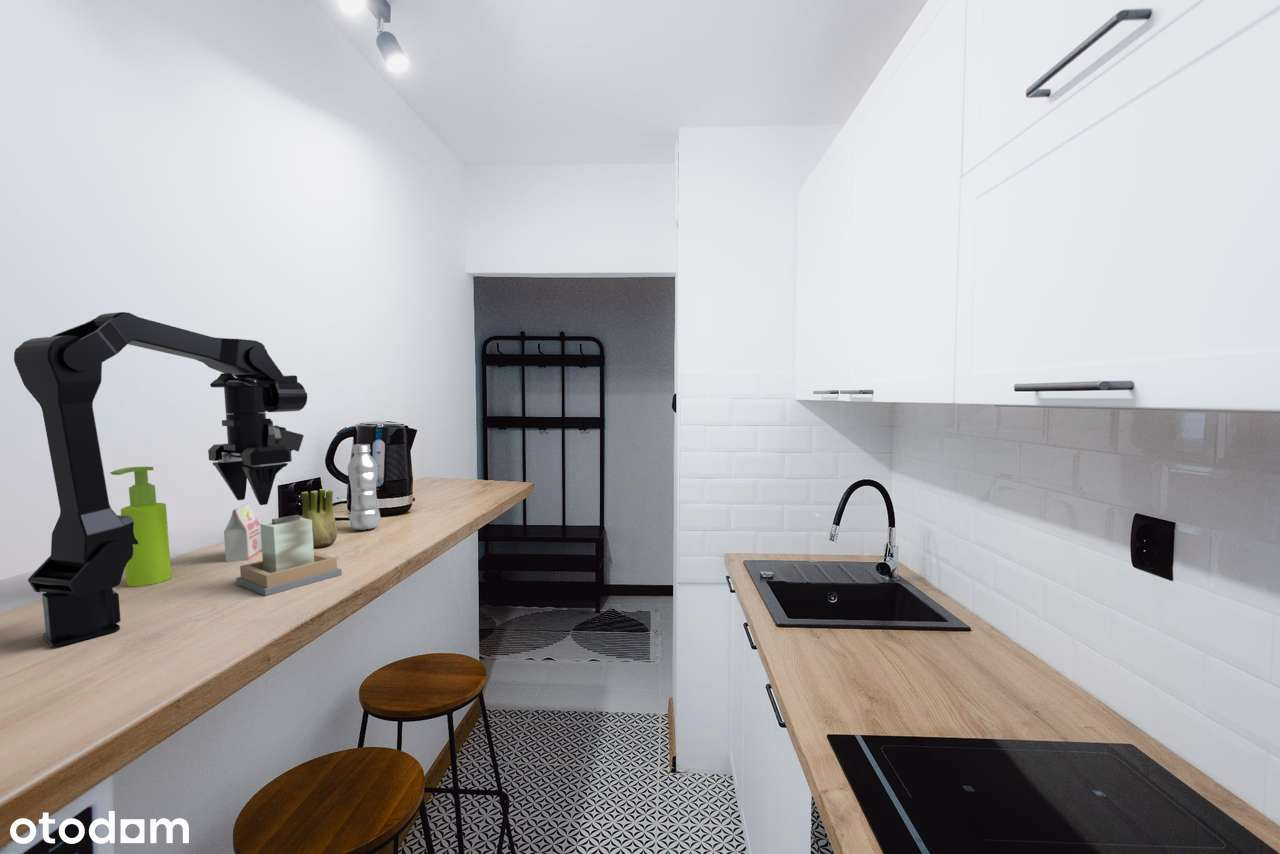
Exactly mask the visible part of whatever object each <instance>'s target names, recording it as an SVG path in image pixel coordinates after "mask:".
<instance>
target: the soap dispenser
mask: <svg viewBox="0 0 1280 854" xmlns="http://www.w3.org/2000/svg"><path fill="white" fill-rule="evenodd" d="M148 471H154V466H131V467H130V466H129V467H124V468H119V469H115V470H113V471H111V472H109V473H110V474H111V475H113V476H114V475H115V476H116V475H117V476H118V475H124V474H127V473H134V475H133V476H134V484H133V485H131V486H130V487H128V491H129V492H128V494H129V506H125V507H122V508H120V515H121V516H131V517H132V519H133V522H134V526H133V532H134V536H135V538H136V540H137V541H138V544H133V547H134V550H133V557H132V559H131V560H129V561H128V563H127V564H126V566H125V569H124V571H125V578H126V579H125V580H126V586H127V587H132V586H136V587H144V585H146V586H149V585H155V584H159V583H162V582H163V583H164V582H166V581H168V580H170V579H171V578H172V568H171V555H170V553H171V552H170V545H169V544H170V543H169V531H168V530H169V529H168V515H167V504H166V503H164V502H157V495H156V484H152V483H151V482H150V483H149V477H148V476H149V475H148Z"/></svg>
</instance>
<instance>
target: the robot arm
mask: <svg viewBox="0 0 1280 854" xmlns="http://www.w3.org/2000/svg"><path fill="white" fill-rule="evenodd" d="M128 345H130V346H134V347H138V348H142V349H146V350H147V349H148V350H151V351H155V352H160V353H166V354H169V355H174V356H179V357H183V358H188V359H191V360H196V361H198V362H201V363H203V364H204V365H205V366H207V367H208V368H210V369H212V370H214V371H217V372H220V375H219V376H218V377H217V378H216V379H214V380H213V381H212V382H211V383H209V384H210V385H209V386H210V387H211V388H223V391H224V392H223V393H224V407H225V408H224V409H225V419H222V420H221V426H222V427H226V436H227V437H226V438H227V443H217V444H213V445H212V446H211V447H210V448H209V449H207V450H208V453H207V454H208V455H207V456H208V461H211V462H212V465H213V466H214V467H215V468H216V471H218V473H219V474H220V476H221V477H222V478H223V480H224V482H225V484H227V486H228V488H229V490H230V491H231V492H232V494H233V496H234V497H235V498H236V500H237V501H243V500H245V499H246V493H247V482H248V483H249V485H250V487H251V490H252V492H253V494H254V496H255V498H256V500H257V503H258V505H260V506H266V505H268V503H269V500H270V497H271V494H272V493H271V492H272V489H273V485H274V482H275V479H276V476H277V474H278V473H279V472H280V471H281V470H282V469H283V468H285V467H287V466H288V465H289V464H288V463H290V462H291V463H292V461H293V460H292V451H295V452H299V451H300V449H301V446H302V442H303V439H304V434H301V433H297V432H293V431H291V430H290V431H289V430H287V429H286V427H284V426H279V425H276V424H275V425H274V423H273V420H272V419H271V418H267V413H282V412H283V413H285V412H286V413H287V412H288V413H289V412H300V411H302V409H304V408H305V406H306V405H307V403H308V393H307V392H306V389H305V388H304V385H302V384H301V383H300V382H298V376H297V375H284V374H283V372H282V371H281V370H280V368H279V367H278V365H276V363H275V361H274V360H273V359H272V357H270V355H269V353H268V351H267V348H266V347H265V345H264V344H263V343H262V342H260V341H257V340H252V339H244V338H243V339H242V338H225V337H224V338H223V337H215V336H209V335H205V334H202V333H199V332H196V331H192V330H191V331H190V330H187V329H183V328H180V327H176V326H172V325H169V324H165V323H162V322H158V321H154V320H151V319H146V318H143V317H139V316H137V315H135V314H133V313H131V312H125V311H120V312H109V313H102V314H100V315H97V316H96V317H95V318H93V319H91V320H88V321H87V322H84V323H82V324H79V325H77V326H74V327H72V328H68V329H66V330H63V331H61V332H59V333H56V334H54V335H51V336H47V337H46V336H45V337H43V336H42V337H36V338H30V339H28V340H25V341H24V342H22V343H21V344H20V345H19V346H18V347H16V348H15V350H14V353H13V361H14V365H15V367H16V370H17V372H18V375H19V376H20V379H21V381H22V384H23V386H24V387H25V388H26V390H28V391H27V392H28V393H29V394H30V395H31V396H32V397H33V398H34V399H35V401H36V402H37V403H38V404H39V406H40V408H41V411H42V416H43V423H44V427H45V433H46V440H47V444H48V445H47V446H48V450H49V455H50V460H51V465H52V471H53V472H52V473H53V476H54V482H55V487H56V493H57V499H58V505H59V510H60V511H59V517H58V518H57V521H56V524H55V526H54V528H53V530H52V532H51V546H50V556H49V557H48V558H46V559H45V561H44V562H43V563H42V564H40V566H39V567H38V568H37V569H36V570H35V571H34V572H33V573H32V574H31V575H30V576H29V578H28V579H27V581H28V583H29V585H30V587H32V590H34V592H35V593H41V597H42V606H43V617H44V627H45V628H44V629H45V632H43V633H42V634H41V635H42V638H43V639H44V640H45V641H46V642H47V643H48V644H49V646H51V647H52V648H58V647H61V646H62V647H63V646H65V645H68V644H72V643H76V642H81V641H83V640H88V639H91V638H95V637H98V636H102V635H106V634H108V633H109V634H111V633H113V632H116V631H119V630H120V629H121V627H120V625H119V624H118V623H120V622H121V619H122V618H121V609H120V596H119V593H118V592H116V591H115V590H113V588H116V587H118V586H120V584H121V582H122V581H121V580H122V578H123V574H124V572H125V566H126V564H127V563H128V561H129V560H131V559H132V557H133V550H134V547H133V544H138V541H137V540H136V538H135V536H134V532H133V526H134V522H133V519H132V517H131V516H121V514H120V515H119V514H117V513H116V512H115V511H114V510H113V509H112V507H111V505H110V501H109V495H108V488H107V484H106V478H105V471H104V470H105V469H104V466H103V459H102V454H101V448H100V442H99V437H98V431H97V430H98V429H97V423H96V418H95V413H94V408H93V407H94V405H93V404H94V400H95V397H96V396H97V392H98V390H99V389H100V387H101V386H100V385H101V384H102V373H103V372H102V371H103V370H102V369H103V363H104V362H105V361H108V360H109V359H111V358H112V357H114V356H116V355H117V354H119V353H120V352H121V351H122V350H123V349H124V348H125V347H126V346H128ZM266 412H267V413H266Z"/></svg>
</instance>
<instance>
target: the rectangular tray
mask: <svg viewBox="0 0 1280 854" xmlns="http://www.w3.org/2000/svg"><path fill="white" fill-rule="evenodd" d="M239 570H240V577H236V579H235V580H236V581H235V582H236V585H238V586H241V587H244V588H246V589H248V590H250V591H253V592H254V593H257V594H261V595H262V596H265V597H267V596H269V595H270V596H271V595H274V594H277V593H280V592H281V593H282V592H285V591H289V590H291V589H295V588H299V587H304V586H307V585H310V584H315V583H317V582H321V581H324V580H328V579H332V578H335V577H339V576H342V569H341V568H339V567H338V565H337V557H333V556H330V555H326V554H322V553H320V552H315V551H314V562H313V563H309V564H305V565H301V566H297V567H293V568H289V569H285V570H281V571H277V572H273V573H269V572H266V571H263V560H259V561H256V562H251V563H247V564H244V565H240V566H239Z"/></svg>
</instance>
